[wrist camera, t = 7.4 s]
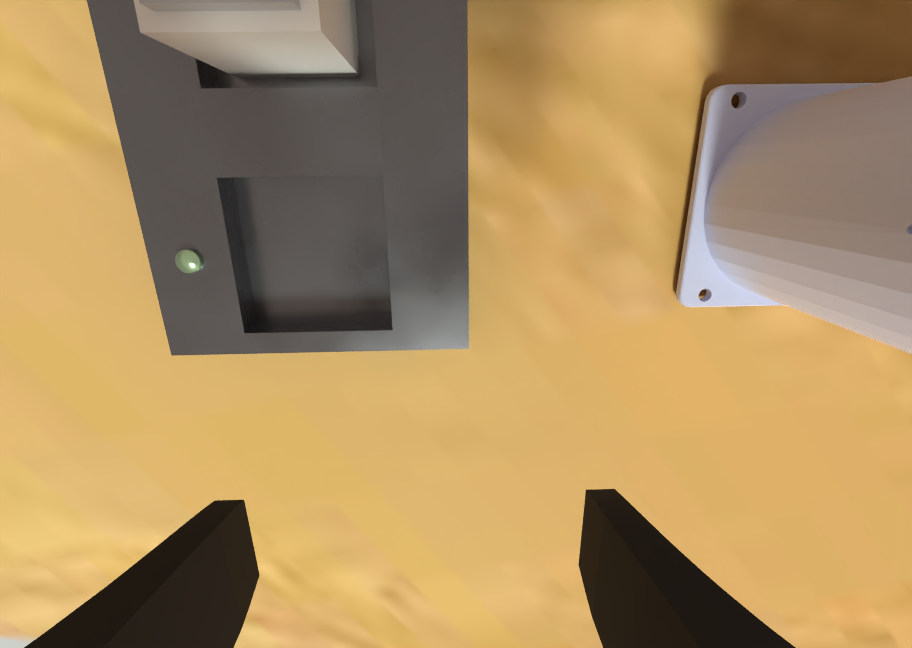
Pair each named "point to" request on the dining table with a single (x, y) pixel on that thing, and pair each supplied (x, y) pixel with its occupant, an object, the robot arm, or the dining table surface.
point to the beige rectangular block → (259, 35)
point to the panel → (302, 187)
